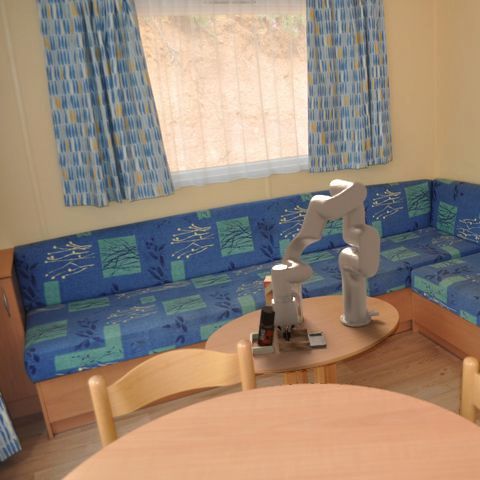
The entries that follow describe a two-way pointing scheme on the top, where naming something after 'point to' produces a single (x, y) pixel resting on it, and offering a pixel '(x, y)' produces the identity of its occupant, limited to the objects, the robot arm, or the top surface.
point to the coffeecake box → (295, 288)
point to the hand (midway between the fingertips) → (287, 339)
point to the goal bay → (260, 349)
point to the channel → (294, 345)
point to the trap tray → (316, 340)
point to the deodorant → (266, 327)
